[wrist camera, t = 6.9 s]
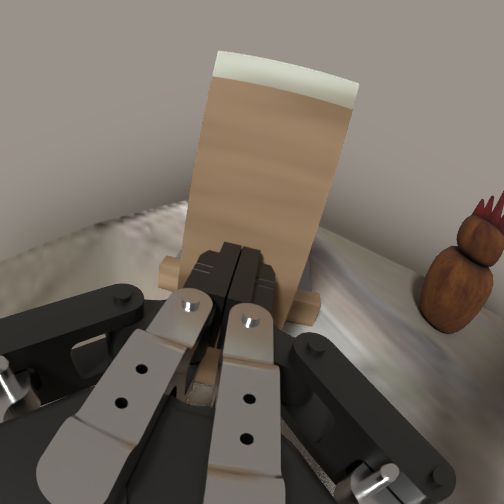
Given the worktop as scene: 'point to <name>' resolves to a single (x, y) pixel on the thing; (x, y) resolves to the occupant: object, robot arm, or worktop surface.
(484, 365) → the worktop surface
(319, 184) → the wooden block
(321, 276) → the worktop surface
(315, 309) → the ledge
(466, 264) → the wooden figurine
